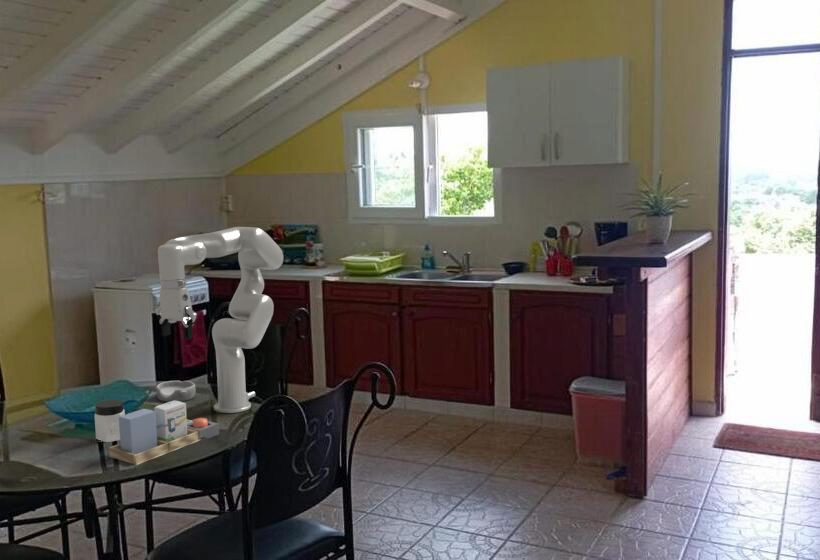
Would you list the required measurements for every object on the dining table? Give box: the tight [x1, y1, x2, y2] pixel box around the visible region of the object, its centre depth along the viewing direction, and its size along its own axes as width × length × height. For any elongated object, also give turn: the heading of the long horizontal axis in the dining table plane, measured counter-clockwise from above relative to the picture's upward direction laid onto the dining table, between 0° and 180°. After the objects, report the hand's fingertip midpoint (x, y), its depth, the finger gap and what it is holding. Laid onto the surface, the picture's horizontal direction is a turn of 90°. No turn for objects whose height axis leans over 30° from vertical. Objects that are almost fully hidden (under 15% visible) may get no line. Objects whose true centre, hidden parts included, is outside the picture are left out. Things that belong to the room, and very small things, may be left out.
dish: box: [155, 380, 196, 403], centre depth 303 cm, size 14×14×5 cm
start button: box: [192, 417, 208, 429], centre depth 261 cm, size 4×4×4 cm
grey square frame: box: [187, 420, 220, 439], centre depth 262 cm, size 8×8×4 cm
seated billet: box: [119, 408, 157, 454], centre depth 242 cm, size 9×5×12 cm, turn 147°
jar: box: [94, 399, 126, 443], centre depth 257 cm, size 9×8×12 cm
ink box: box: [153, 401, 188, 442], centre depth 252 cm, size 9×5×12 cm, turn 147°
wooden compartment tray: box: [107, 429, 201, 466], centre depth 248 cm, size 24×13×4 cm, turn 147°
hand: (177, 337), depth 263 cm, fingers open, 9 cm apart
